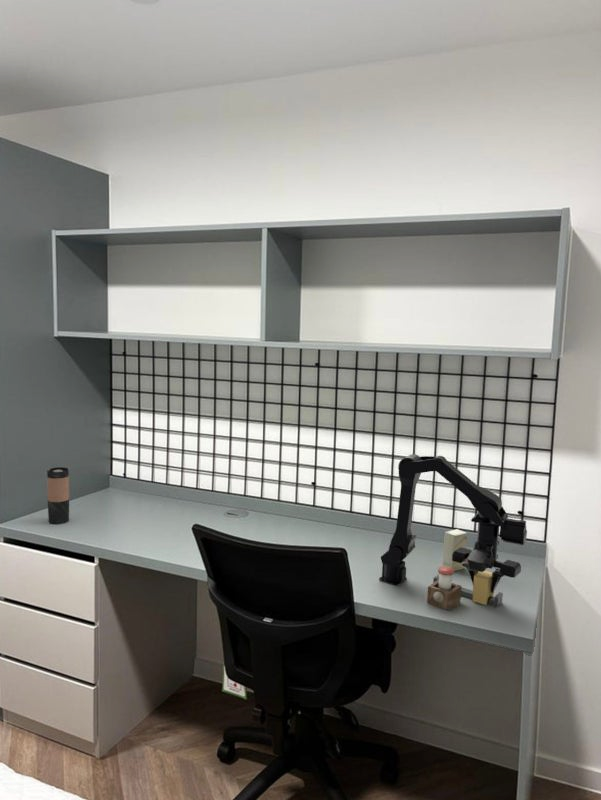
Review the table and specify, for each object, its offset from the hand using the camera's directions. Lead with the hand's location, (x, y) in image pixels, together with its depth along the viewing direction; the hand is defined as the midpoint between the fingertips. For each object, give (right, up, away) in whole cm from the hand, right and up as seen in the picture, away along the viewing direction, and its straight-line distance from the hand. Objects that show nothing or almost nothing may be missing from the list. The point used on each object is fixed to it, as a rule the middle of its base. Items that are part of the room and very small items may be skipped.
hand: (483, 590), depth 186 cm
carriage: (0, -3, 0) cm, 3 cm away
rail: (-4, -3, +4) cm, 6 cm away
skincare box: (-3, 0, +24) cm, 24 cm away
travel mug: (-144, +9, +57) cm, 155 cm away
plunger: (-12, 0, -2) cm, 12 cm away
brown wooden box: (-12, -3, -2) cm, 12 cm away
